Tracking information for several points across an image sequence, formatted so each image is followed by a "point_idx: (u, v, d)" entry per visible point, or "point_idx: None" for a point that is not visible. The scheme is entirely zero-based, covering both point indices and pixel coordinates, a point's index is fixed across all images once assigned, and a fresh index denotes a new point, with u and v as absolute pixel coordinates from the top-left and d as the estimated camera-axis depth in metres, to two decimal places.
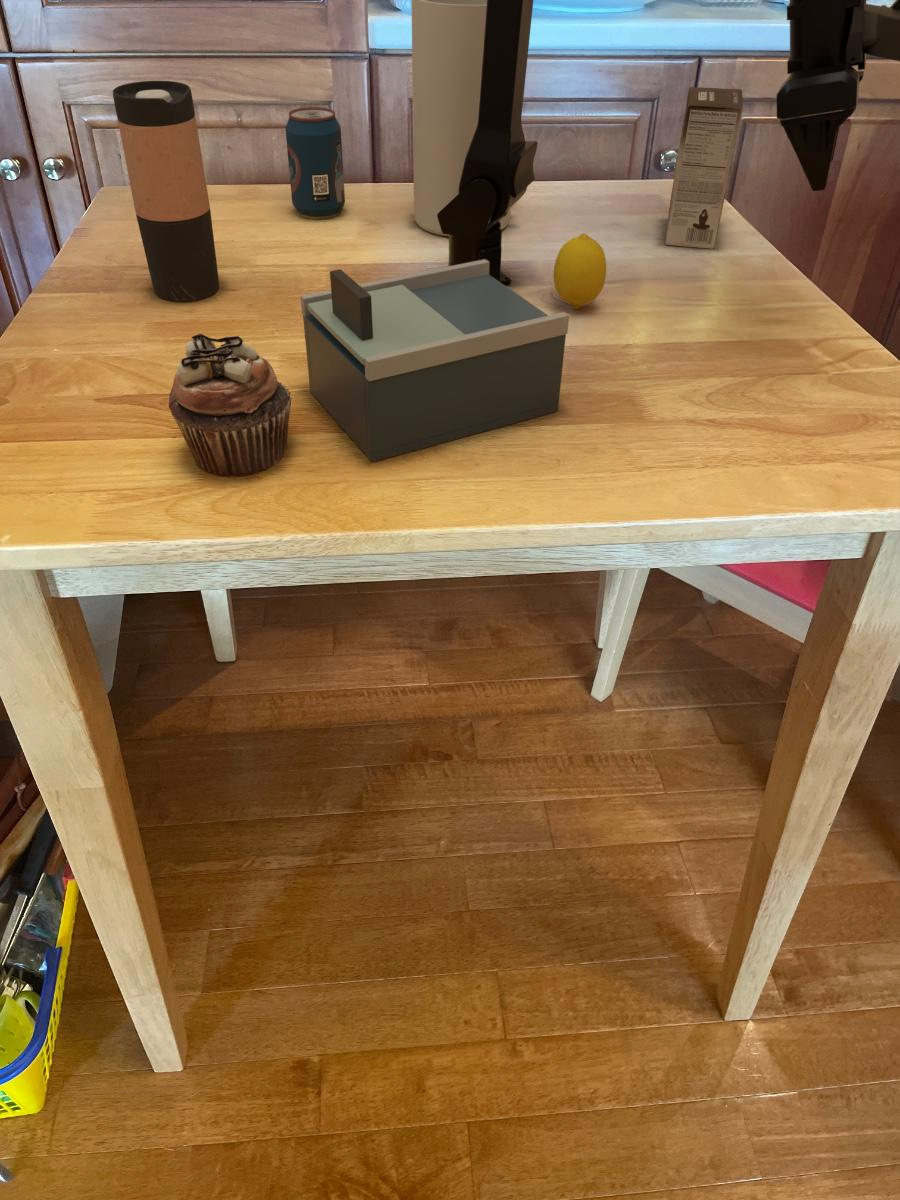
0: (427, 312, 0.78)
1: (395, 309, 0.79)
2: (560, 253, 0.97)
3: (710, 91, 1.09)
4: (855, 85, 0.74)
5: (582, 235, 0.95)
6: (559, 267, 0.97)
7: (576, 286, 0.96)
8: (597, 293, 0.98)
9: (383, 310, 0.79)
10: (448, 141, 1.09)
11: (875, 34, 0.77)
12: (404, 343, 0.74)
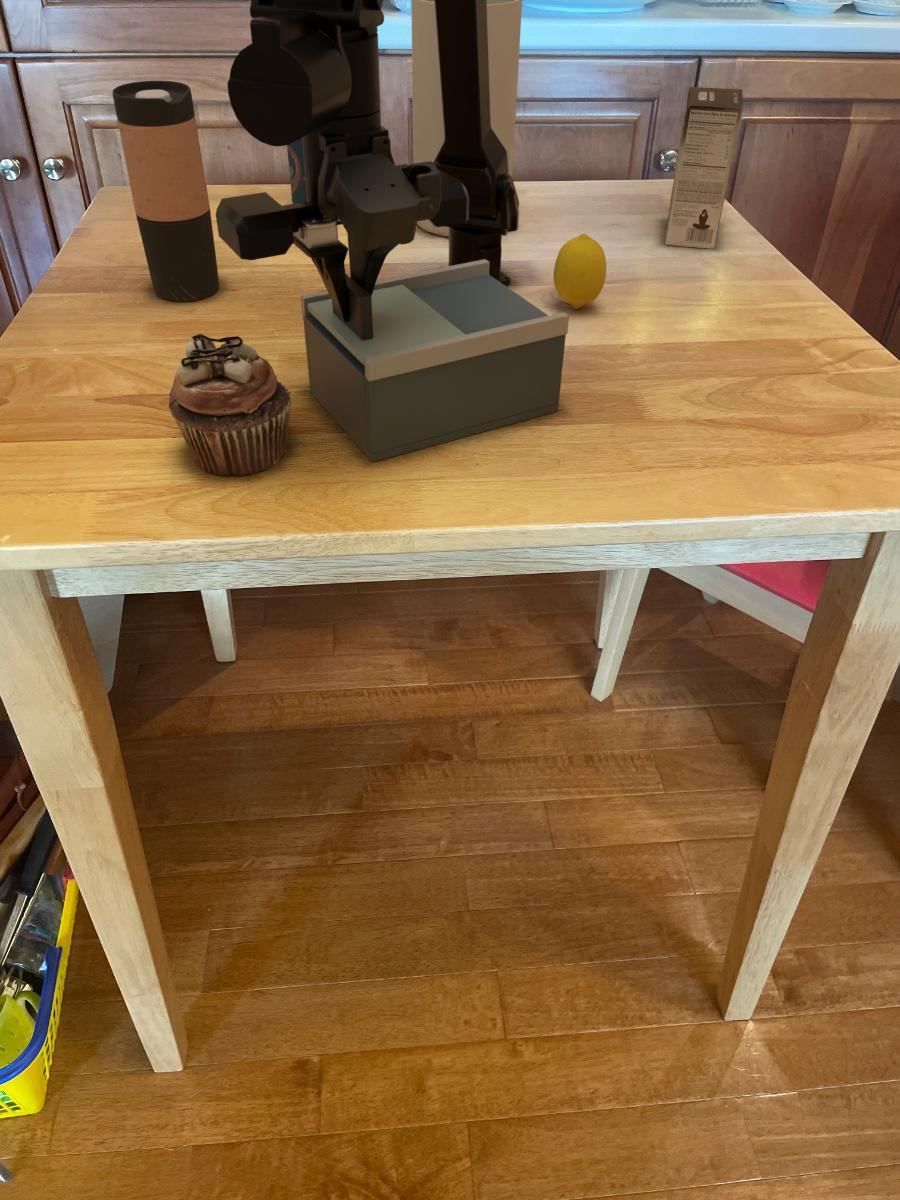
0: (427, 312, 0.78)
1: (395, 309, 0.79)
2: (560, 253, 0.97)
3: (710, 91, 1.09)
4: (246, 237, 0.65)
5: (582, 235, 0.95)
6: (559, 267, 0.97)
7: (576, 286, 0.96)
8: (597, 293, 0.98)
9: (383, 310, 0.79)
10: None
11: (332, 193, 0.65)
12: (404, 343, 0.74)
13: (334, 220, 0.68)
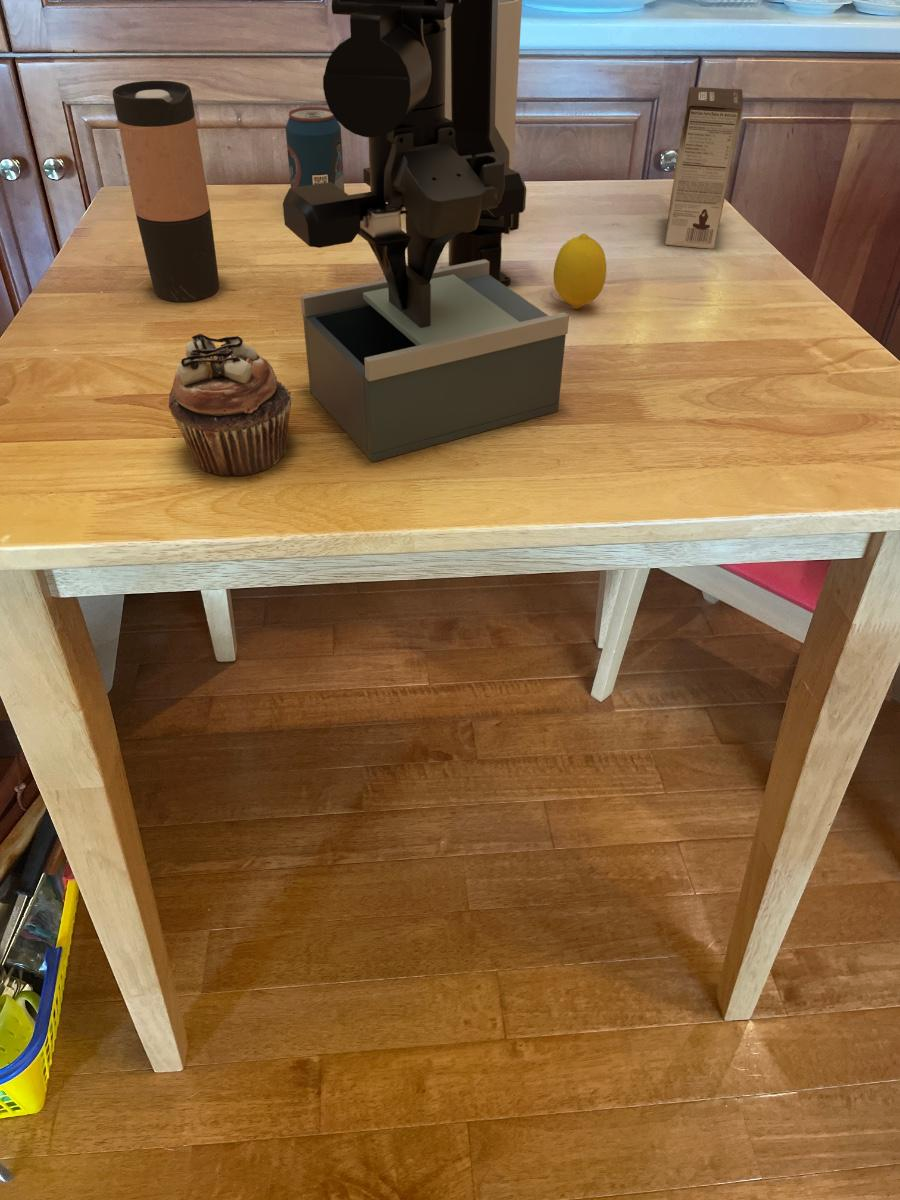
0: (481, 301, 0.80)
1: (449, 298, 0.81)
2: (560, 253, 0.97)
3: (710, 91, 1.09)
4: (315, 225, 0.67)
5: (582, 235, 0.95)
6: (559, 267, 0.97)
7: (576, 286, 0.96)
8: (597, 293, 0.98)
9: (437, 299, 0.80)
10: None
11: (399, 183, 0.67)
12: (461, 330, 0.76)
13: (398, 209, 0.70)
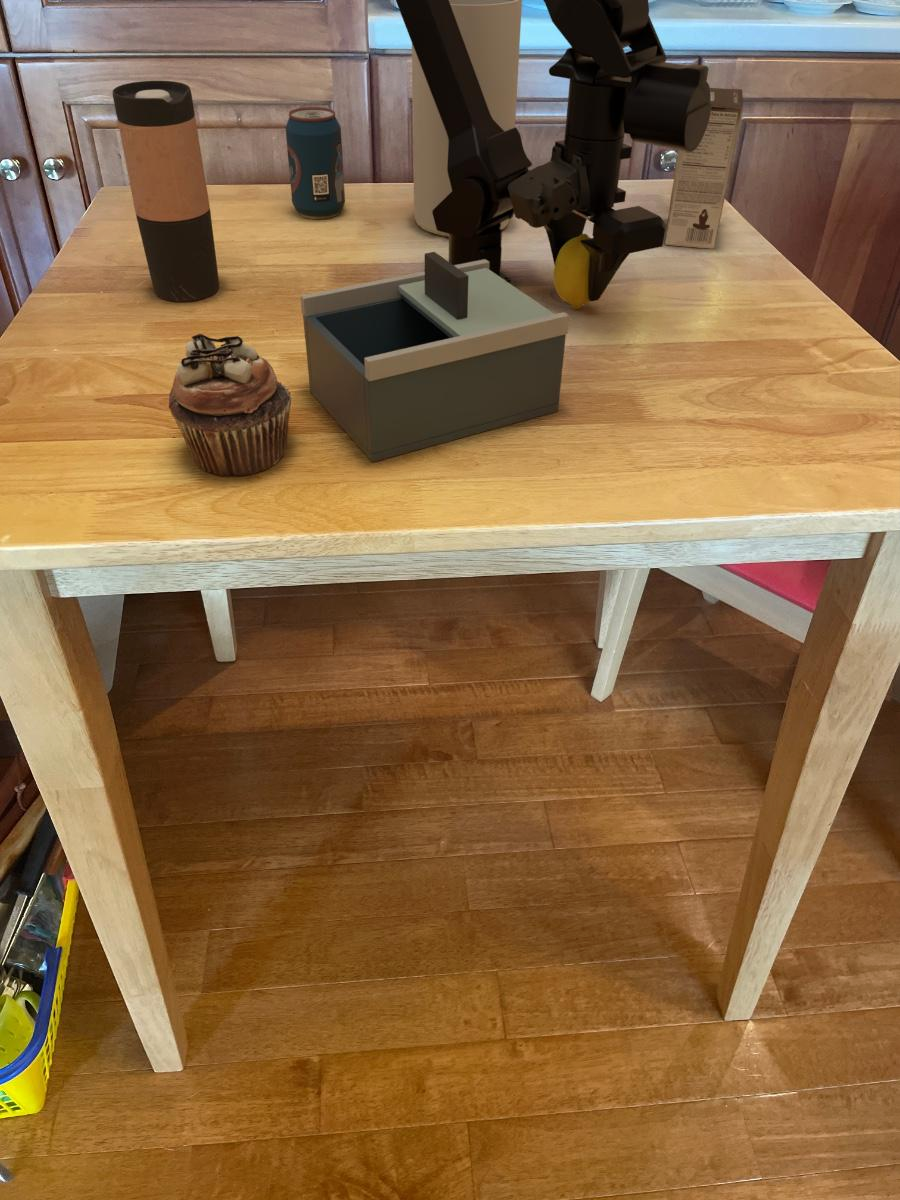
0: (515, 294, 0.82)
1: (484, 290, 0.82)
2: (560, 253, 0.97)
3: (710, 91, 1.09)
4: None
5: (582, 235, 0.95)
6: (559, 267, 0.97)
7: (576, 286, 0.96)
8: None
9: (472, 291, 0.82)
10: (448, 141, 1.09)
11: None
12: (497, 321, 0.77)
13: None
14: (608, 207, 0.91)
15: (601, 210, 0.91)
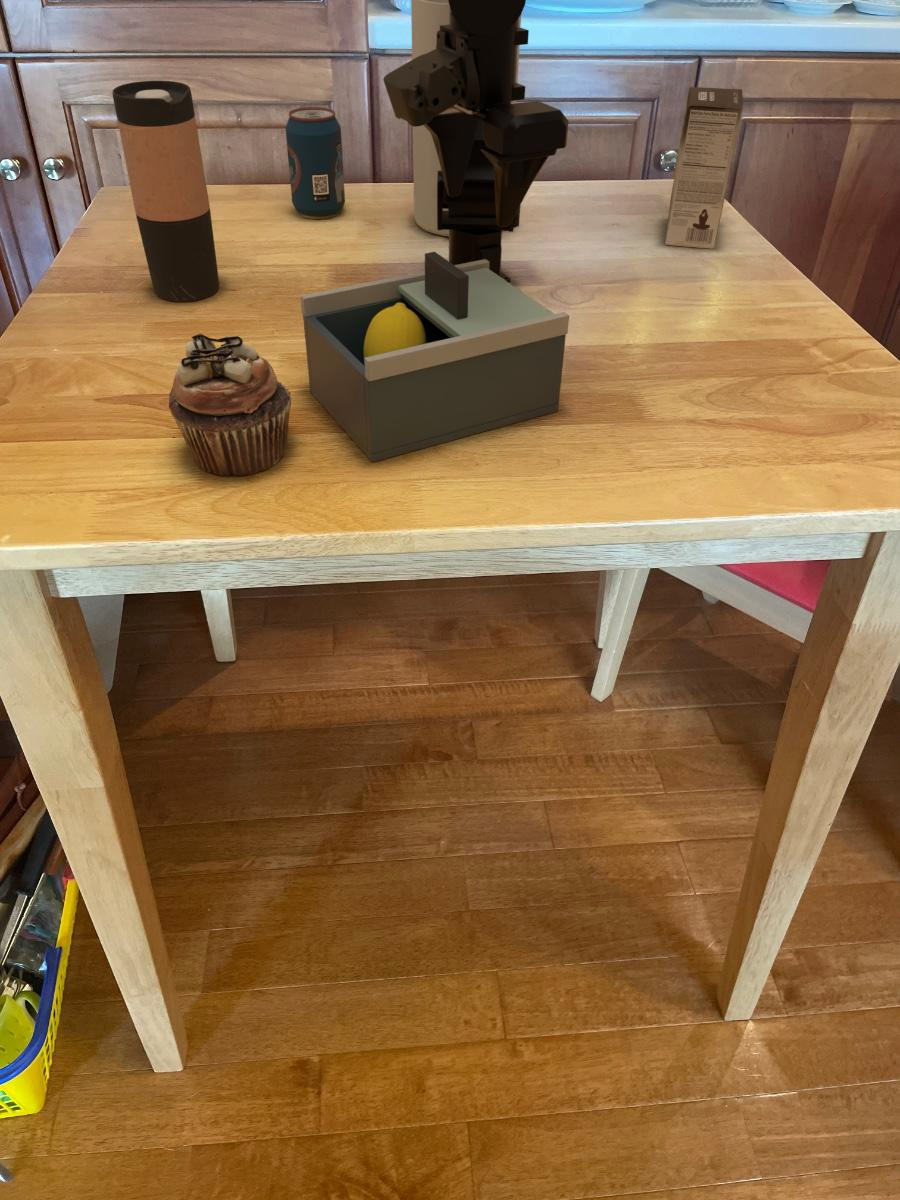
0: (515, 293, 0.82)
1: (484, 290, 0.82)
2: (372, 320, 0.81)
3: (710, 91, 1.09)
4: None
5: None
6: (369, 332, 0.80)
7: (386, 348, 0.79)
8: None
9: (472, 291, 0.82)
10: None
11: None
12: (497, 321, 0.77)
13: None
14: (503, 104, 0.78)
15: None
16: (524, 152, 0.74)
